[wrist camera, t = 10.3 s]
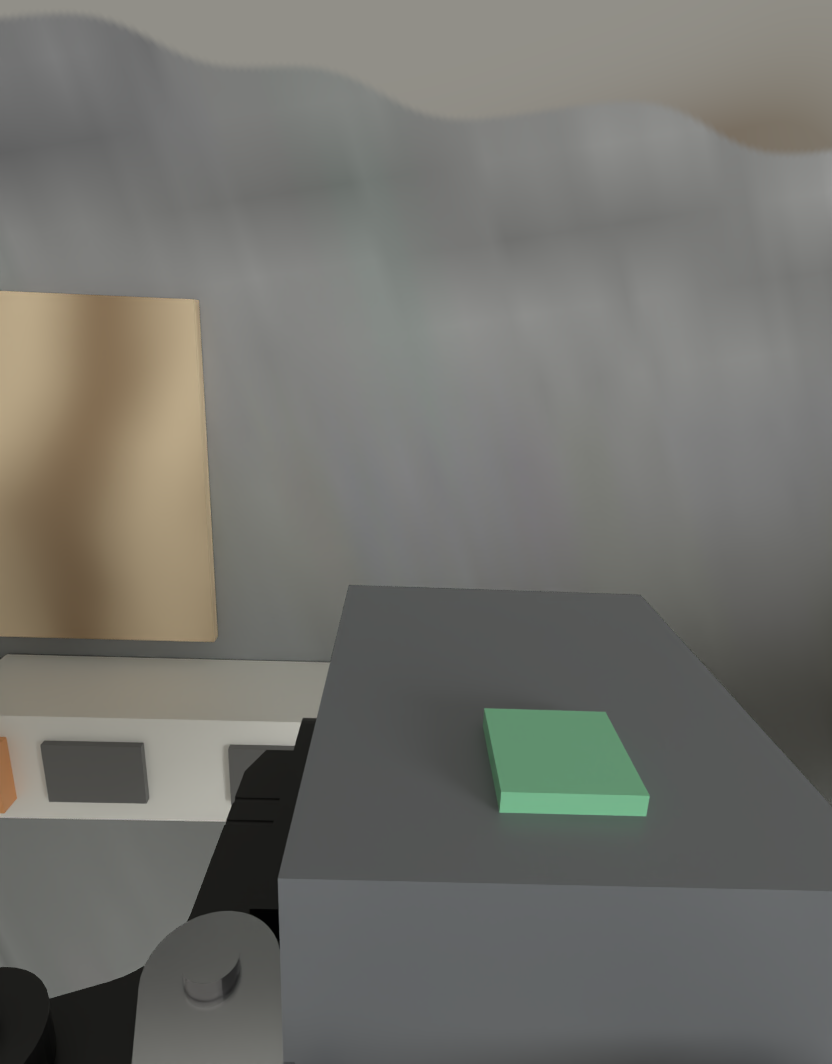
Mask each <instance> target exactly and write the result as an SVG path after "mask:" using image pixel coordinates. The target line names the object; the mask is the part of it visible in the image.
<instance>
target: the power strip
mask: <svg viewBox="0 0 832 1064" xmlns="http://www.w3.org/2000/svg"><path fill="white" fill-rule="evenodd" d="M329 665H330V662H294V661H255V660H215V659H176V658H137V657H98V656H59V655H19V654H7V655H5V656H4V657H3V658H2V659H0V818H45V819H103V820H161V821H219V822H226V819H227V817H228V814H229V811H230V809H231V806H232V803H234V801H235V796H236V793H237V790H238V788H239V785H240V782H241V780H242V777H243V774H244V772H245V770H246V769H247V768H248V767H249V766H250V765H251V764H253V763H254V762H255V761H256V760H257V759H258V758H259V757H260V756H261V755H262V754H263V753H264V752H265V751H266V750H294V746H295V743H296V739H297V735H298V732H299V728H300V725H301V721H302V719H303V718H317V715H318V711H319V706H320V702H321V698H322V694H323V690H324V686H325V682H326V678H327V673H328V669H329Z"/></svg>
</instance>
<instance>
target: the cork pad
mask: <svg viewBox="0 0 832 1064" xmlns="http://www.w3.org/2000/svg"><path fill="white" fill-rule="evenodd" d="M0 636H3V637H41V638H79V639H117V640H155V641H192V642H215V640H216V638H217V637H218V629H217V612H216V594H215V576H214V559H213V541H212V523H211V506H210V488H209V470H208V453H207V435H206V417H205V400H204V382H203V364H202V347H201V329H200V312H199V300H194V299H171V298H149V297H126V296H103V295H80V294H57V293H35V292H12V291H0Z"/></svg>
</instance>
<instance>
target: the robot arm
mask: <svg viewBox="0 0 832 1064" xmlns="http://www.w3.org/2000/svg"><path fill="white" fill-rule="evenodd" d="M316 719H317V718H303V719H302V721H301V725H300V728H299V732H298V735H297V739H296V743H295V746H294V750H266V751H265V752H264V753H263V754H262V755H261V756H260V757H259V758H258V759H257V760H256V761H255V762H254V763H253V764H251V765H250V766H249V767H248V768H247V769H246V770H245V772H244V774H243V777H242V780H241V782H240V785H239V788H238V790H237V793H236V796H235V801H234V803H232V806H231V809H230V811H229V814H228V817H227V819H226V825H224V827H223V830H222V833H221V835H220V838H219V841H218V843H217V846H216V848H215V851H214V854H213V856H212V859H211V862H210V864H209V867H208V870H207V872H206V875H205V878H204V880H203V883H202V885H201V888H200V891H199V893H198V896H197V899H196V901H195V904H194V907H193V909H192V912H191V914H190V917H189V919H188V921H187V922H186V923H184V924H183V925H181V926H179V927H178V928H176V929H175V930H174V931H172V932H171V933H170V934H169V935H167V936H166V937H165V938H164V939H163V940H162V941H161V942H160V943H159V944H158V946H157V947H156V948H155V950H154V951H153V952H152V954H151V955H150V957H149V959H148V960H147V962H146V964H145V966H143V967H141V968H140V969H138V970H136V971H134V972H132V973H130V974H128V975H126V976H124V977H121V978H118V979H116V980H113V981H110V982H107V983H103V984H100V985H96V986H93V987H89V988H86V989H82V990H78V991H75V992H71V993H68V994H64V995H61V996H57V997H54V998H50V999H49V997H48V993H47V989H46V987H45V986H44V984H43V982H42V981H41V980H40V979H39V978H38V977H37V976H36V975H35V974H33V973H31V972H29V971H27V970H23V969H19V968H11V967H1V968H0V1064H295V1062H283V1038H282V1004H281V970H280V936H279V902H278V876H279V871H280V867H281V863H282V859H283V855H284V851H285V847H286V843H287V838H288V834H289V830H290V826H291V822H292V818H293V814H294V810H295V805H296V801H297V797H298V793H299V789H300V785H301V781H302V777H303V772H304V768H305V764H306V760H307V756H308V752H309V748H310V744H311V739H312V735H313V731H314V727H315V723H316Z"/></svg>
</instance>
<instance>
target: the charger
mask: <svg viewBox="0 0 832 1064" xmlns="http://www.w3.org/2000/svg"><path fill="white" fill-rule="evenodd" d="M278 902H279V936H280V970H281V1004H282V1038H283V1062H295V1064H832V806H831V805H830V804H829V803H828V802H827V800H826V799H825V798H824V797H823V796H822V795H821V794H820V793H819V792H818V790H817V789H816V788H815V787H814V786H813V785H812V784H811V783H810V782H809V781H808V779H807V778H806V777H805V776H804V775H803V774H802V773H801V772H800V771H799V769H798V768H797V767H796V766H795V765H794V764H793V763H792V762H791V761H790V760H789V758H788V757H787V756H786V755H785V754H784V753H783V752H782V751H781V750H780V748H779V747H778V746H777V745H776V744H775V743H774V742H773V741H772V740H771V739H770V737H769V736H768V735H767V734H766V733H765V732H764V731H763V730H762V729H761V727H760V726H759V725H758V724H757V723H756V722H755V721H754V720H753V719H752V718H751V716H750V715H749V714H748V713H747V712H746V711H745V710H744V709H743V708H742V706H741V705H740V704H739V703H738V702H737V701H736V700H735V699H734V698H733V697H732V695H731V694H730V693H729V692H728V691H727V690H726V689H725V688H724V687H723V686H722V684H721V683H720V682H719V681H718V680H717V679H716V678H715V677H714V676H713V674H712V673H711V672H710V671H709V670H708V669H707V668H706V667H705V666H704V665H703V663H702V662H701V661H700V660H699V659H698V658H697V657H696V656H695V655H694V653H693V652H692V651H691V650H690V649H689V648H688V647H687V646H686V645H685V644H684V642H683V641H682V640H681V639H680V638H679V637H678V636H677V635H676V634H675V632H674V631H673V630H672V629H671V628H670V627H669V626H668V625H667V624H666V623H665V621H664V620H663V619H662V618H661V617H660V616H659V615H658V614H657V613H656V611H655V610H654V609H653V608H652V607H651V606H650V605H649V604H648V603H647V602H646V600H645V599H644V598H643V597H642V596H641V595H632V594H602V593H572V592H542V591H512V590H482V589H452V588H422V587H392V586H362V585H349V587H348V591H347V595H346V599H345V603H344V607H343V612H342V616H341V620H340V624H339V628H338V632H337V636H336V640H335V645H334V649H333V653H332V657H331V661H330V665H329V669H328V673H327V678H326V682H325V686H324V690H323V694H322V698H321V702H320V706H319V711H318V715H317V719H316V723H315V727H314V731H313V735H312V739H311V744H310V748H309V752H308V756H307V760H306V764H305V768H304V772H303V777H302V781H301V785H300V789H299V793H298V797H297V801H296V805H295V810H294V814H293V818H292V822H291V826H290V830H289V834H288V838H287V843H286V847H285V851H284V855H283V859H282V863H281V867H280V871H279V876H278Z"/></svg>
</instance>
